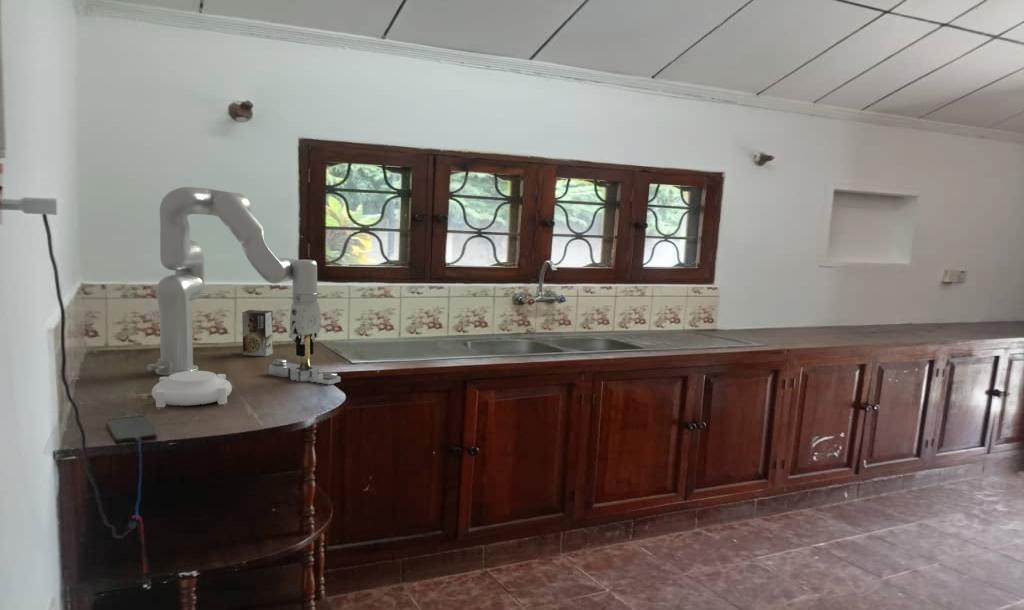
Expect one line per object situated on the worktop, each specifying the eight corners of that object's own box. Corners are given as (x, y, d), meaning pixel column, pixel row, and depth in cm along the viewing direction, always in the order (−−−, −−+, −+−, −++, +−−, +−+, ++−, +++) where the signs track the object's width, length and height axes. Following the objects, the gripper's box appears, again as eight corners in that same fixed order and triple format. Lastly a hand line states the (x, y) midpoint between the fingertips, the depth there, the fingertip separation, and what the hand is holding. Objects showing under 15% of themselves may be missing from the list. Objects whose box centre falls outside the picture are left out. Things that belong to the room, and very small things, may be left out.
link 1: (305, 382, 224) (305, 369, 223) (264, 375, 231) (264, 361, 230) (324, 377, 231) (324, 364, 231) (284, 370, 239) (284, 357, 238)
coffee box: (273, 353, 264) (273, 310, 262) (265, 356, 258) (265, 313, 256) (250, 351, 265) (249, 309, 263) (241, 355, 259) (241, 311, 256)
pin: (305, 369, 226) (305, 332, 225) (295, 367, 228) (295, 330, 226) (313, 366, 230) (314, 330, 228) (304, 365, 231) (304, 329, 230)
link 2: (326, 386, 220) (326, 377, 220) (284, 378, 227) (284, 370, 227) (344, 380, 228) (344, 372, 228) (303, 373, 235) (303, 365, 235)
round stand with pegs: (193, 385, 216) (193, 362, 215) (256, 396, 207) (256, 372, 206) (124, 404, 193) (124, 378, 192) (191, 417, 185) (190, 390, 184)
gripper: (295, 302, 217) (295, 360, 219) (331, 297, 232) (330, 352, 234) (277, 299, 220) (277, 357, 222) (313, 295, 235) (312, 349, 237)
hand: (304, 354), depth 228 cm, fingers closed on pin, 3 cm apart
